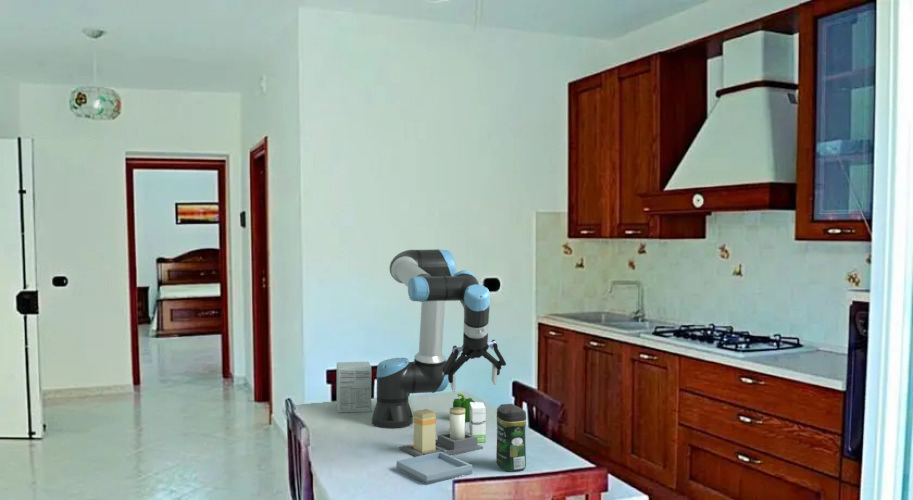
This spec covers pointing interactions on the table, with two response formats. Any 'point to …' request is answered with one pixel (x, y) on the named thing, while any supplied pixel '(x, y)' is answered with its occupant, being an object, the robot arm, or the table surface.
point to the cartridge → (457, 423)
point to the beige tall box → (424, 430)
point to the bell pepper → (463, 405)
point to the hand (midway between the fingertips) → (473, 385)
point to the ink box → (478, 421)
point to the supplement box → (353, 386)
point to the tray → (434, 467)
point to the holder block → (448, 445)
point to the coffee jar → (511, 438)
